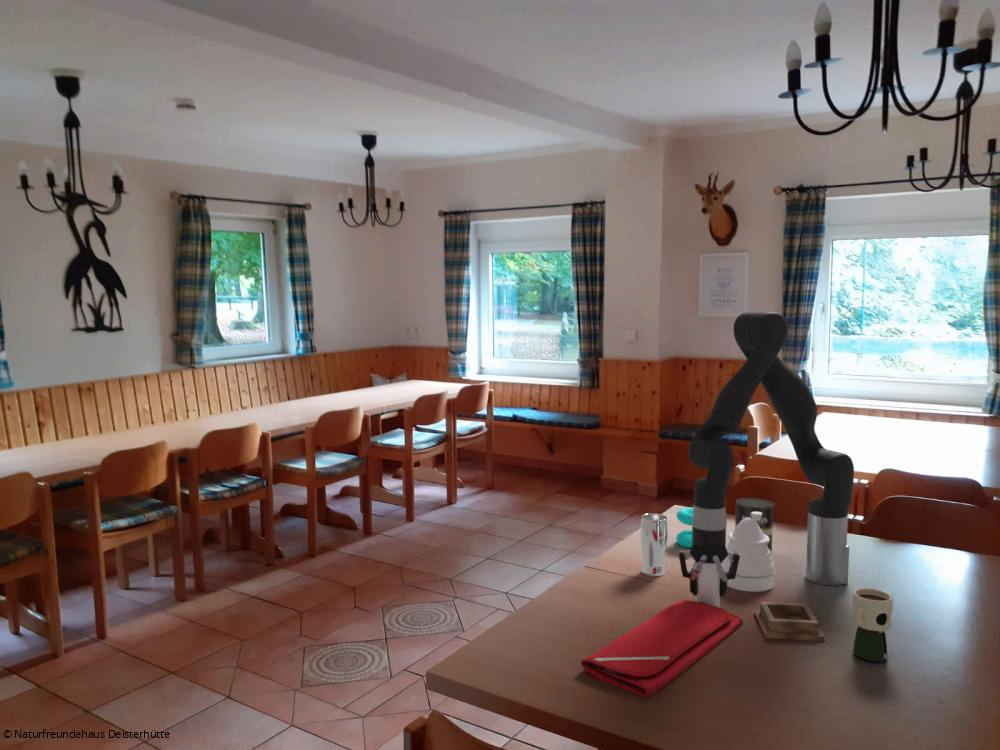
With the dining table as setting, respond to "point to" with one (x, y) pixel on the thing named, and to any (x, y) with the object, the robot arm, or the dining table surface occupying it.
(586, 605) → the dining table surface
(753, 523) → the honey pot
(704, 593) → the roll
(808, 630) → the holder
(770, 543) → the coffee can
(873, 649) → the character mug
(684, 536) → the donuts
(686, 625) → the red folded cloth
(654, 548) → the beer glass
